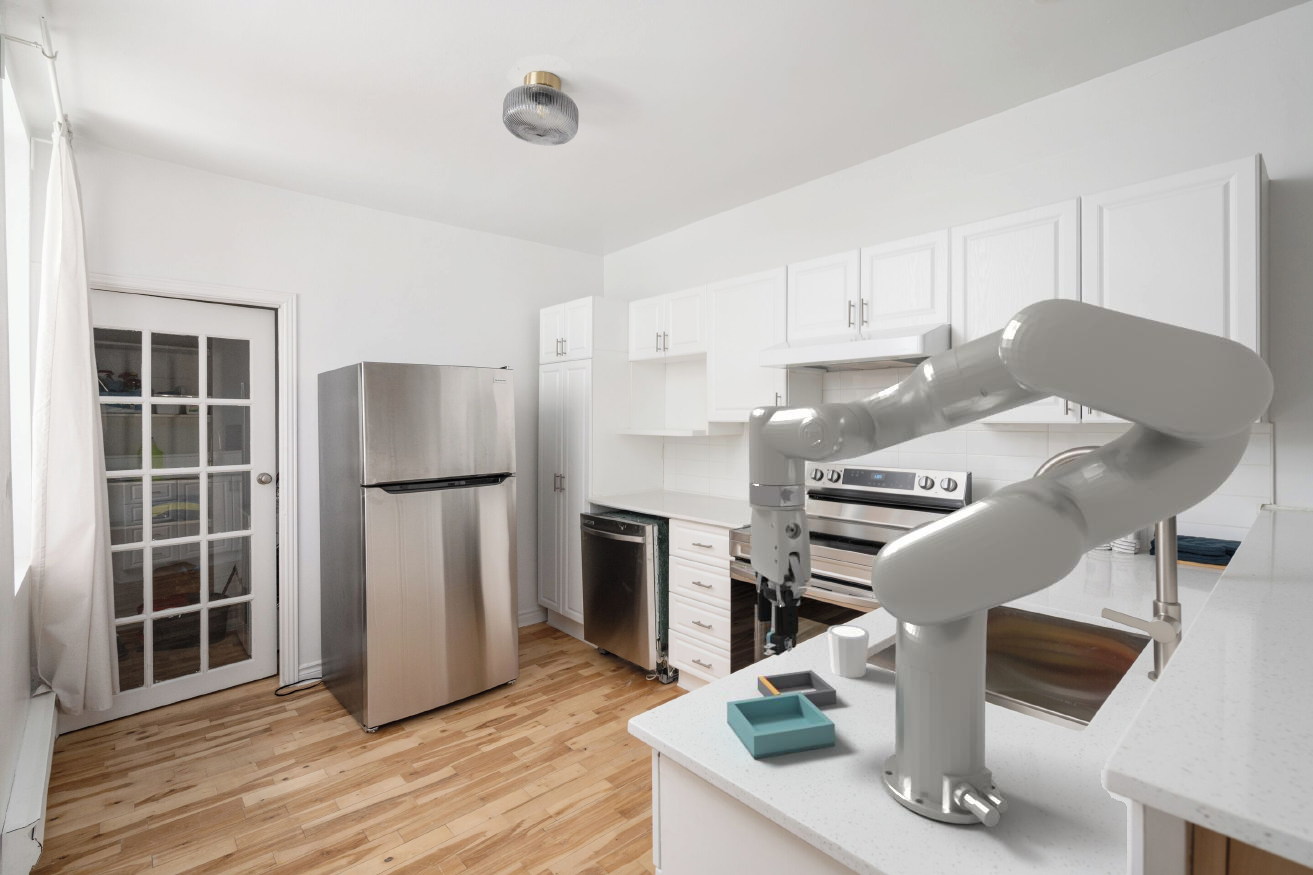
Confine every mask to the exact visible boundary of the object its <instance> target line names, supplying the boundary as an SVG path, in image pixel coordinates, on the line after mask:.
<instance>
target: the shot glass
mask: <svg viewBox="0 0 1313 875" xmlns="http://www.w3.org/2000/svg"><path fill="white" fill-rule="evenodd" d="M827 636H828V637H827V638H828V647H829V648H828V650H829V657H830V658H829V660H830V668H831V672H832V673H833V674H835V675H836V676H839V677H842V678H845V679H847V678H848V679H858V678H862V677H864V676H865V675H866V671H867V670H866V669H867V660H868V651H869V648H868V647H869V640H870V633H869V631H868V630H867V629H865V628H862V627H859V626H857V625H851V624H835V625H831V626H829V627H828V628H827Z"/></svg>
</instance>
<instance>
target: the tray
mask: <svg viewBox="0 0 1313 875" xmlns="http://www.w3.org/2000/svg"><path fill="white" fill-rule="evenodd" d="M802 693H803V692H801V691H798V692H790V693H783V694H781V695H775V696H768V697H764V696H761V697H756V698H746V699H740V700H734V701H728V702H726V714H727V715H726V717H727V718H726V719H727V720H726V722H727V723H726V724H728V726H729V727H730V729H731V730H732V731H733V732H734V734H735V736H737V738H738V739H739V741H740V742H741V743H742V745H743V746H744V748H745V749H746V750H747V752H748V753H749V754H750V756H751V757H752V759H754V760H757V759H763V758H770V757H775V756H780V755H788V754H794V753H799V752H806V751H812V750H818V749H822V748H830V747H834V746H836V742H835V741H836V740H835V738H836V737H835V735H836V734H835V733H836V732H835V731H836V729H835V728H836V727H835V725H836V724H835V723H834V722H833V721H832V720H831V718H829V717H828V716H827V715H826V714H825V713H824V712H822V711H821V709H819V707H818V706H815V705H814V704H813V703H812V702H811V701H809V700H808V699H807V698H806V697H805V696H804V695H803V694H802Z"/></svg>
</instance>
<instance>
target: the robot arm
mask: <svg viewBox="0 0 1313 875" xmlns="http://www.w3.org/2000/svg"><path fill="white" fill-rule="evenodd" d="M1274 389H1275V384H1274V377H1273V374H1272V371H1271V368H1270V367H1269V366H1268V364H1267V363H1266V361H1265V360H1264V359H1263V357H1261V356H1260V355H1259V354H1258V353H1256V352H1255V351H1254V350H1253V349H1251V348H1250V347H1247V346H1246V345H1245V344H1242V343H1241V342H1238V341H1236V340H1233V339H1230V338H1228V337H1223V336H1220V335H1215V334H1211V333H1207V332H1204V331H1200V330H1195V329H1191V328H1187V327H1183V326H1179V325H1176V324H1175V325H1174V324H1170V323H1167V322H1162V321H1158V320H1153V319H1151V318H1146V317H1142V316H1137V315H1133V314H1129V313H1124V312H1120V311H1117V310H1113V309H1110V308H1107V307H1106V308H1105V307H1103V306H1098V305H1094V304H1091V303H1086V302H1083V301H1079V300H1075V299H1070V298H1051V299H1050V298H1049V299H1044V300H1041V301H1037V302H1033V303H1031V304H1030V305H1028V306H1026V307H1024V308H1022V309H1021V310H1020V311H1018V312H1017V313H1016V314H1015V315H1013V317H1011V318H1010V319H1009V320H1008V322H1007V323H1006V325H1005V326H1004V327H1003V328H1000V329H998V330H995V331H993V332H991V333H989V334H985V335H982V336H981V337H978V338H976V339H973V340H971V341H967V342H966V343H963V344H961V345H959V346H958V345H957V346H956V347H952V348H950V349H948V350H945V351H943V352H940V353H937V354H935V355H933V356H930V357H928V358H926V359H925V360H923V361H921V363H919V365H917V367H916V368H915V369H914V370H913V372H912V373H911V374H909V375H908V376H907V377H906V378H904V379H903V380H901V381H899V382H898V383H896V384H894V385H892V386H890V387H887V388H885V389H882V390H880V391H877V392H875V393H872V394H869V395H868V396H864V397H862V398H859V399H856V400H854V401H851V402H850V401H849V402H848V403H847V402H845V403H843V402H841V403H840V402H838V403H837V402H835V403H834V402H829V403H828V402H825V403H824V402H823V403H822V402H821V403H813V404H808V405H803V406H793V405H769V406H768V405H767V406H766V405H764V406H757V407H755V408H753V409H752V410H751V412H750V413H749V418H748V458H749V459H748V464H749V465H748V468H749V469H748V471H749V472H748V474H749V475H748V477H749V478H748V481H749V484H748V487H749V488H748V490H749V491H748V493H749V495H748V496H749V498H748V502H749V503H748V504H749V505H748V506H749V508H752V509H751V518H750V520H751V521H750V535H749V554H750V558H749V559H750V564H751V567H752V569H753V570H754V572H755V573H754V576H755V579H756V584H755V585H756V588H755V589H756V591H757V620H758V621H759V622H760V623H765V622H770V621H772V602H771V601H770V600H769V599H768V598H766V597H765V596H764V589H763V588H762V583H764V582H766V581H769V579H770V580H771V581H773V582H775V585H776V594H777V603H778V605H775V634H776V635H778V636H784V635H793V634H796V635H797V634H798V633H799V606H800V605H801V598H802V597H803V596H804V594H805V593H806V592H807V591H808V588H807V584H806V583H809V582H810V581H811V578H812V559H811V558H812V557H811V541H810V529H809V524H808V518H807V513H806V512H807V511H806V509H805V508H806V462H812V463H817V464H824V463H825V464H826V463H827V464H828V463H833V462H838V461H843V460H850V459H856V458H859V457H863V456H865V455H869V454H872V453H875V452H878V451H881V450H885V449H887V448H890V447H894V446H897V445H900V444H903V443H907V442H909V441H911V440H916V439H918V438H921V437H924V436H927V435H930V434H935V433H942V432H946V431H949V430H951V429H955V428H957V427H961V426H964V425H967V424H970V423H972V422H973V423H974V422H976V421H979V420H982V419H985V418H987V417H988V418H989V417H990V416H994V415H996V414H1000V413H1003V412H1006V411H1010V410H1013V409H1016V408H1019V407H1021V406H1025V405H1029V404H1032V403H1033V404H1034V403H1035V402H1038V401H1041V400H1045V399H1048V398H1052V397H1056V398H1060V399H1062V400H1066V401H1069V402H1071V403H1074V404H1077V405H1080V406H1083V407H1086V408H1089V409H1091V410H1094V411H1097V412H1100V413H1103V414H1106V415H1110V416H1112V417H1115V418H1119V419H1122V420H1125V421H1128V422H1131V423H1134V424H1133V426H1132V427H1131V428H1130V429H1129V430H1127V431H1126V432H1125V433H1124V434H1122V435H1121V436H1120V437H1118V438H1116V439H1114V440H1111V441H1110V442H1108V443H1106V444H1103V445H1101V446H1100V447H1098V448H1096V449H1092V450H1091V451H1089V452H1087V453H1085V454H1083V455H1081V456H1080V457H1078V458H1076V459H1073V460H1071V461H1068V462H1067V463H1064V464H1063V465H1062V464H1061V465H1059V466H1058V467H1055V468H1053V469H1051V470H1049V471H1046V472H1043V473H1041V474H1038V475H1036V476H1033V477H1031V478H1029V479H1026V480H1021V481H1018V482H1017V481H1016V482H1014V483H1011V484H1008V485H1006V486H1003V487H1001V488H1000V489H998V490H996V491H994V492H993V493H991V494H988V495H987V496H985V497H983V498H980V499H979V500H976V501H973V502H972V503H970V504H967V505H966V506H964V507H963V506H962V507H961V508H959V509H957V510H955V511H953V512H951V513H949V514H946V515H944V516H942V517H939V518H937V519H935V520H930V521H925V522H922V523H919V524H917V525H915V526H913V527H911V528H910V529H908V530H907V531H904V532H902V534H900V535H898V536H896V537H893V539H891V540H889V541H887V543H885V544H884V545H883V546H882V547H881V549H879V551H878V553H877V554H876V556H875V557H874V560H873V563H872V566H871V570H870V571H871V572H870V583H871V588H872V591H873V594H874V596H875V598H876V600H877V602H878V604H879V605H880V606H881V607H882V608H883V609H884V610H885V611H886V612H887V614H889V615H891V616H892V617H894V618H895V619H896V626H895V662H894V663H895V679H894V680H895V682H894V683H895V688H894V689H895V690H894V691H895V693H894V694H895V697H894V698H895V699H894V700H895V704H894V706H895V712H894V713H895V714H894V715H895V716H894V717H895V718H894V719H895V720H894V722H895V728H894V729H895V730H894V732H895V733H894V734H895V745H894V746H895V752H894V754H892V755H891V756H890V757H888V758H886V759H885V761H884V762H883V764H882V768H881V780H882V784H883V786H884V788H885V789H886V791H887V792H888V793H889V794H890V796H891V797H892V798H893V799H894V800H895V801H897V802H899V803H900V804H901V805H902V806H903V807H906V808H907V809H908V810H911V811H912V812H915V813H916V814H919V815H921V816H924V817H927V818H929V819H932V820H937V821H940V822H945V823H949V824H957V825H958V824H959V825H962V824H963V825H965V824H966V825H969V824H978V823H982V824H984V825H985V826H986V827H988V828H994V827H996V826H997V824H999V821H1000V818H1001V816H1000V814H1004V813H1006V811H1007V810H1008V808H1009V804H1008V803H1009V802H1008V801H1007V800H1006V799H1004V798H1003V797H1002V796H1001V792H1000V789H999V787H998V785H997V783H996V782H995V781H994V780H993V778H992V774H993V772H992V771H991V770H990V769H989V768H987V767H986V668H987V629H988V628H987V626H988V624H987V623H988V612H989V610H990V609H991V610H992V608H995V607H998V606H1002V605H1005V604H1007V603H1010V602H1014V601H1016V600H1019V599H1021V598H1024V597H1027V596H1030V595H1033V594H1036V593H1038V592H1040V591H1043V590H1044V589H1047V588H1049V587H1052V586H1053V585H1055V584H1057V583H1059V582H1060V581H1062V580H1063V579H1065V578H1066V577H1067V576H1068V575H1070V574H1071V572H1073V571H1074V570H1075V568H1076V567H1077V566H1078V564H1079V563H1080V561H1081V559H1082V557H1083V556H1084V555H1085V554H1086V553H1088V552H1090V551H1093V550H1094V549H1095V550H1096V549H1097V548H1100V547H1102V546H1105V545H1107V544H1110V543H1112V542H1114V541H1117V540H1120V539H1122V538H1125V537H1127V536H1130V535H1132V534H1135V533H1137V532H1139V531H1142V530H1144V529H1147V528H1149V527H1151V526H1153V525H1156V524H1159V523H1161V522H1164V521H1165V520H1169V519H1171V518H1173V517H1176V516H1177V515H1179V514H1182V513H1183V512H1186V511H1187V510H1189V509H1191V508H1193V507H1195V506H1197V505H1198V504H1200V503H1201V502H1203V501H1205V500H1206V499H1207V498H1208V497H1210V496H1211V495H1213V494H1214V493H1215V492H1217V490H1218V489H1219V488H1221V486H1222V485H1223V484H1224V483H1225V482H1226V481H1227V480H1228V479H1229V478H1230V476H1231V475H1233V474H1232V473H1233V472H1234V471H1235V469H1236V468H1237V467H1238V465H1239V464H1240V462H1241V460H1242V458H1243V456H1244V454H1245V452H1246V449H1247V448H1248V444H1249V441H1250V440H1251V439H1250V438H1251V434H1252V428H1253V424H1254V423H1255V422H1257V421H1259V420H1260V418H1261V417H1262V416H1263V415H1264V413H1265V412H1266V411H1267V410H1268V408H1269V406H1270V405H1271V404H1270V403H1271V401H1272V400H1273V396H1274V391H1275V390H1274ZM784 577H790V578H791V581H787V582H785V580H784ZM787 586H791V589H790V590H787V591H786V593H785V594H784V591H783V587H787Z"/></svg>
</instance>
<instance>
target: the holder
mask: <svg viewBox="0 0 1313 875" xmlns="http://www.w3.org/2000/svg"><path fill="white" fill-rule="evenodd" d="M809 685H810V686H811V687H812V688H813V689H814V690H813V691H805V692H801V693H802V694H803V695H804V696H805V697H806V698H807V699H808V700H809V701H811V702H812V703H813V704H814V705H815V706H816V707H820V706H824V705H825V706H826V705H833V704H837V690H836V689H835V687H833V686H832V685H830V684H829V682H827V681H826V680H824V679H823V678H822V677H820V676H819V675H818V674H817V673H815V671H813V670H812V669H811V670H810V669H809V670H802V671H795V672H789V673H788V672H787V673H780V674H772V675H771V674H770V675H766V676H765V675H763V676H757V690H758V692H760V693H761V695H762V697H768V696H775V695H782V694H781V692H780V691H778V690H779V689H785V688H787V689H788V688H793V687H802V686H809Z"/></svg>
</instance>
